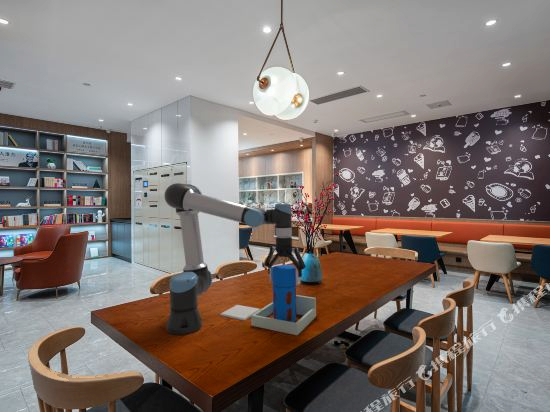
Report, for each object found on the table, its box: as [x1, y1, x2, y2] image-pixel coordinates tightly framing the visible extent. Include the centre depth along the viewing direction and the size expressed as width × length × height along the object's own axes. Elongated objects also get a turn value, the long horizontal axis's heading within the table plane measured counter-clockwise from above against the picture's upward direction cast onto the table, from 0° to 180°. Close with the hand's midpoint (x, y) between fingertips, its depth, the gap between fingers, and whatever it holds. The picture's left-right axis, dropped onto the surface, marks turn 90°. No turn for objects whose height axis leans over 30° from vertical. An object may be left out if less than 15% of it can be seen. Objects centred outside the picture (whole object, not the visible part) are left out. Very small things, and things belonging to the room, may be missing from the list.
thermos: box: [272, 264, 297, 323], centre depth 138 cm, size 11×11×25 cm
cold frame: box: [250, 294, 317, 336], centre depth 138 cm, size 22×22×9 cm
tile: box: [220, 304, 261, 321], centre depth 148 cm, size 14×14×1 cm
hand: (284, 282), depth 138 cm, fingers open, 13 cm apart
